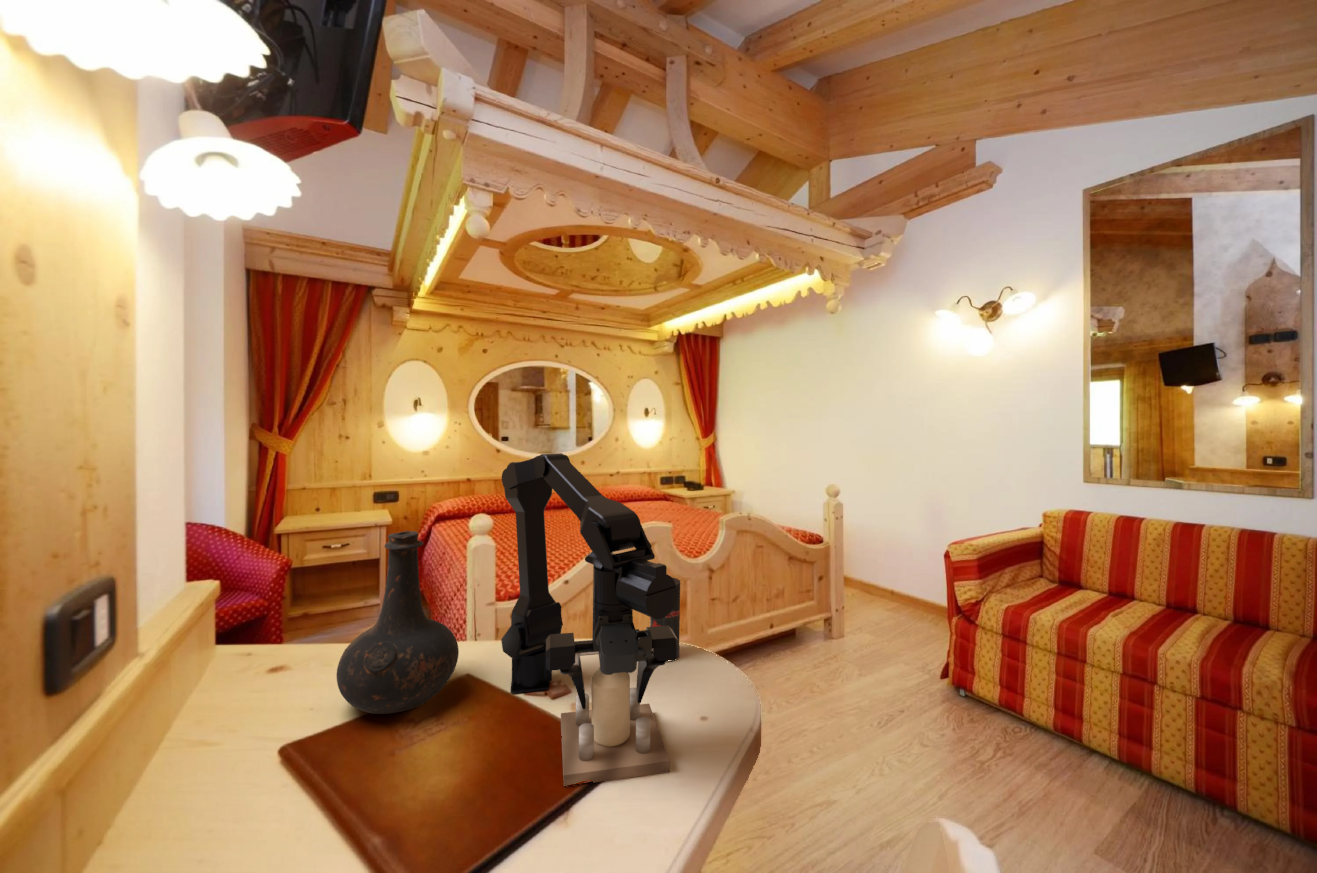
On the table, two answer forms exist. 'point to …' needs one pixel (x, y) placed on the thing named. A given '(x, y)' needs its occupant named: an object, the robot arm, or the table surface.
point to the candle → (610, 708)
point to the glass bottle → (398, 643)
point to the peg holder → (615, 762)
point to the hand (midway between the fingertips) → (611, 704)
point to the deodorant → (671, 615)
